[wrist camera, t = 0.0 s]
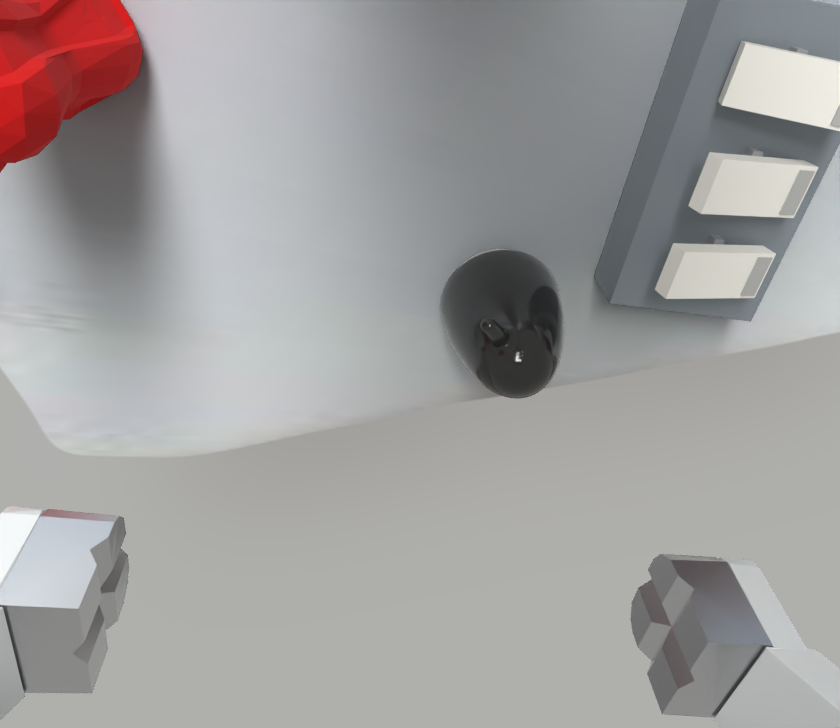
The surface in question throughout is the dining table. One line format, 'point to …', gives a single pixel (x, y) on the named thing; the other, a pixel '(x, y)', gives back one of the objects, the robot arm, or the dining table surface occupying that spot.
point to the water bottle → (59, 66)
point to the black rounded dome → (505, 321)
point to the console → (712, 150)
